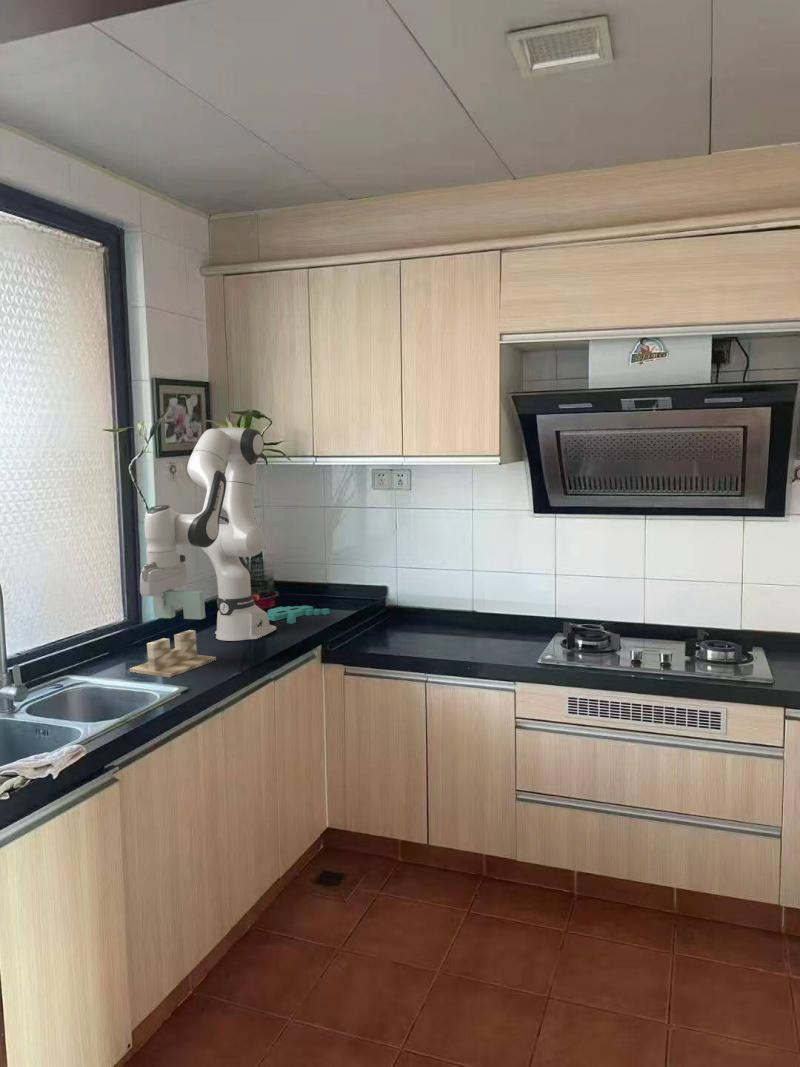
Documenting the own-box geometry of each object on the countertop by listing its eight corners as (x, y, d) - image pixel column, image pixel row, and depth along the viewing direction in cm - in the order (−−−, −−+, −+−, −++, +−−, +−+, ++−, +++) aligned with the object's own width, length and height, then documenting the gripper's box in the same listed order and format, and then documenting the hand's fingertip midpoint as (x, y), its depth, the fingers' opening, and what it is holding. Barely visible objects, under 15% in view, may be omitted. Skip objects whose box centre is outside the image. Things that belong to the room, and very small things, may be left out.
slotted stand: (177, 655, 268) (175, 627, 267) (216, 660, 261) (214, 631, 260) (129, 671, 251) (127, 642, 250) (169, 677, 243) (167, 647, 242)
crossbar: (205, 617, 252) (203, 591, 251) (201, 619, 249) (199, 592, 248) (158, 615, 256) (156, 590, 255) (154, 617, 254) (152, 591, 253)
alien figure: (329, 614, 324) (293, 609, 336) (329, 608, 323) (293, 603, 336) (291, 624, 308) (255, 618, 321) (291, 618, 308) (254, 613, 321)
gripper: (151, 566, 241) (155, 613, 243) (189, 554, 260) (192, 598, 262) (132, 565, 243) (136, 612, 245) (171, 554, 262) (174, 598, 264)
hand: (165, 605), depth 254 cm, fingers closed on crossbar, 2 cm apart
